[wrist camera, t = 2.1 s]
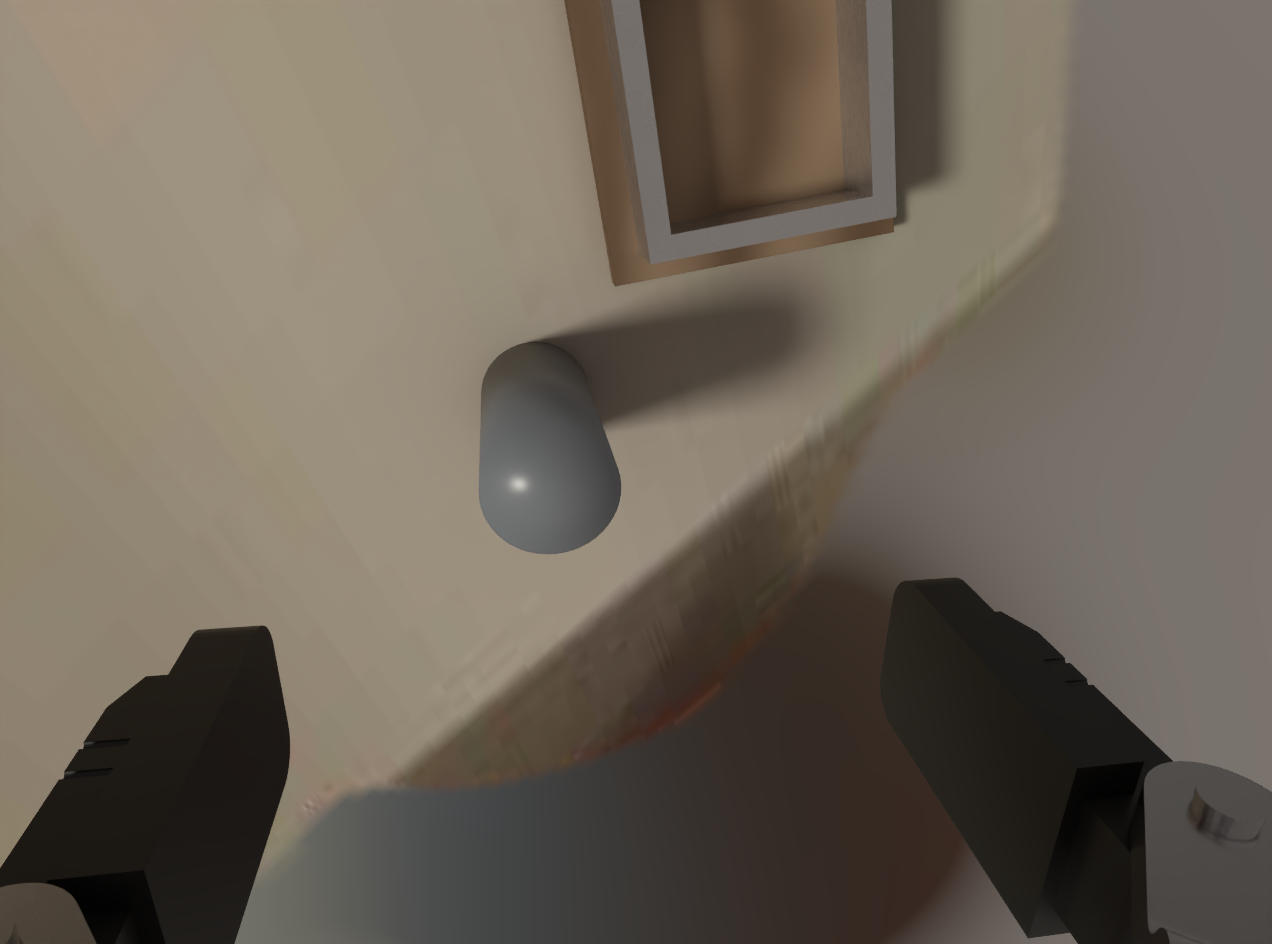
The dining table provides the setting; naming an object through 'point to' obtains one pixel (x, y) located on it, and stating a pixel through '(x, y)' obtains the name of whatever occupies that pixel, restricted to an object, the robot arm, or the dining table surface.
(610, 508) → the grey capsule cylinder
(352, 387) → the dining table surface
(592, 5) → the socket board
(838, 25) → the collar
